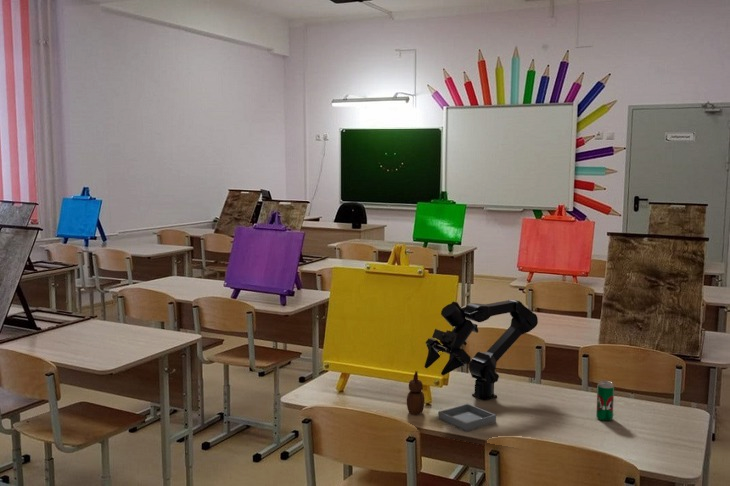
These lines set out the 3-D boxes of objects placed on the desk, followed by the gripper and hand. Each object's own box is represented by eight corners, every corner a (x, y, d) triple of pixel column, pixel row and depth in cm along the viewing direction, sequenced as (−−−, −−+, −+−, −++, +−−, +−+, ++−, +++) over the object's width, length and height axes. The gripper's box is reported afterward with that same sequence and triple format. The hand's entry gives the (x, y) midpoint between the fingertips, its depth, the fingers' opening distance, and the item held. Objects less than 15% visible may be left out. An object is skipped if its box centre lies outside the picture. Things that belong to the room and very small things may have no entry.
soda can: (612, 416, 219) (614, 381, 218) (613, 422, 215) (614, 386, 213) (596, 415, 221) (597, 379, 220) (596, 420, 216) (597, 384, 215)
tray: (467, 410, 226) (467, 403, 226) (496, 422, 215) (496, 414, 215) (438, 419, 218) (438, 411, 218) (466, 431, 208) (466, 424, 208)
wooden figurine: (423, 417, 220) (423, 372, 218) (405, 416, 221) (405, 371, 220) (425, 410, 227) (425, 366, 225) (408, 409, 228) (408, 365, 226)
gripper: (429, 315, 235) (403, 350, 231) (464, 325, 219) (436, 364, 215) (447, 334, 240) (422, 369, 235) (482, 346, 224) (456, 383, 220)
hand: (433, 371), depth 226 cm, fingers open, 9 cm apart
